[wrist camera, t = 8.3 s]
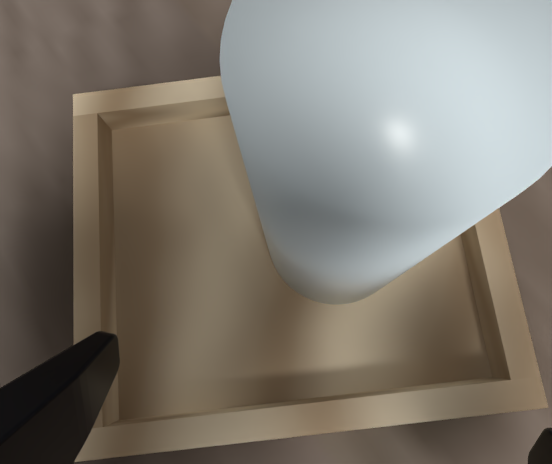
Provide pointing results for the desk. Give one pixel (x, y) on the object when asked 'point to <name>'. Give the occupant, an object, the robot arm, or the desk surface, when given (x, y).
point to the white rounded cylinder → (383, 127)
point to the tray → (262, 298)
